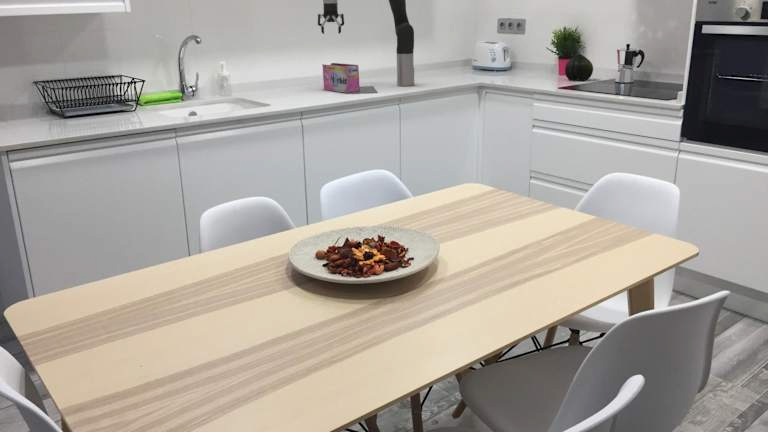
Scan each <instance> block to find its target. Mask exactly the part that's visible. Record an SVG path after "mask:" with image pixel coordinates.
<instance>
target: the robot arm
mask: <svg viewBox="0 0 768 432" xmlns="http://www.w3.org/2000/svg"><path fill="white" fill-rule="evenodd" d="M338 1H339V0H323V14H321V13H318V14H317V26H320V30H321V33H322V34H323V35H325V27H324V26H325V25H326V23H336V24H337V25H338V28H337V30H338V32H337V33H338V34H339V35H340V34H341V33H342V27H343V26H344V25H345V18H344V13H339V12H338V9H339V8H338ZM388 3H389V6H390V10H391V12H392V17H393V21H394V28H395V29H394V30H395V35H396V85H397V86H399V87H400V86H401V87H410V86H415V66H414V63H415V62H414V61H415V59H414V48H415V30H414V27H413V26H412V24H410V20H409V18H408V15H407V7H406V6H407V3H406V0H388ZM322 18H324V20H323V22H322V23H321V19H322ZM338 18H340V19H341V23H340V22H339V20H338Z"/></svg>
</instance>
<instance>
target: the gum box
mask: <svg viewBox="0 0 768 432" xmlns="http://www.w3.org/2000/svg"><path fill="white" fill-rule="evenodd" d="M359 70H360V69H359V64H353V63H352V64H351V63H350V64H348V63H338V62H332V63H330V64H322V78H323V79H322V81H323V90H324V91H331V92H338V93H346V94H352V92H358V91H360V87H361V86H360V73H359Z"/></svg>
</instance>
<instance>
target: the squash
mask: <svg viewBox="0 0 768 432" xmlns="http://www.w3.org/2000/svg"><path fill="white" fill-rule="evenodd" d="M593 71H594V65H593V63H592V61H591V60H590V59H588V58H587V57H586V56H585V55H583V54H581V53H577V54H575V55H574V56H572V57H570V59H569V60H568V61H567V62H566V64H565V67H564V73H565V74H564V75H565V76H566V78H567V79H568V80H569V81H576V80H579V81H581V82H584V81H586V80H589V79H590V78H591V77H592V75H593Z"/></svg>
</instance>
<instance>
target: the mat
mask: <svg viewBox="0 0 768 432" xmlns="http://www.w3.org/2000/svg"><path fill="white" fill-rule="evenodd" d="M359 87H360V91H358V92H352V93H351V94H352V95H354V94H355V95H359V94H362V93H363V94H378V91H377V89H376V88H375V86H373V85H368V86H366V85H364V86H359ZM363 94H362V95H363Z"/></svg>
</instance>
